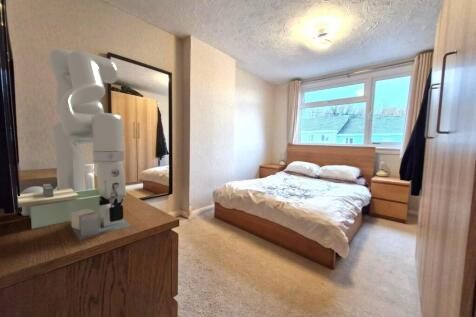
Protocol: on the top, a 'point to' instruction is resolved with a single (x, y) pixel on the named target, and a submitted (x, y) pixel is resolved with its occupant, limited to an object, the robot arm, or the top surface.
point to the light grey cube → (90, 225)
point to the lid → (46, 196)
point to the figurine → (89, 176)
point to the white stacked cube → (106, 216)
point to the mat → (104, 229)
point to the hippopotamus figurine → (31, 190)
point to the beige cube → (79, 217)
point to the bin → (63, 209)
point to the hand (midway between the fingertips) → (111, 216)
